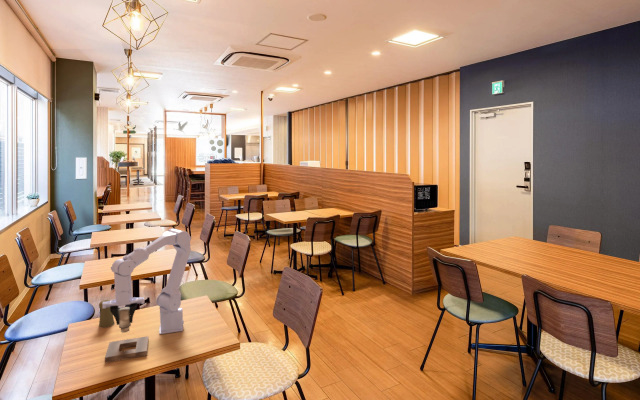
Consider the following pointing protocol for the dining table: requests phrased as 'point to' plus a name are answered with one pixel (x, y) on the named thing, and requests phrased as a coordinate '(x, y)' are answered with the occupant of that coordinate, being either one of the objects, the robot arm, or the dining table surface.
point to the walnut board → (116, 354)
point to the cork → (105, 316)
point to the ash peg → (124, 319)
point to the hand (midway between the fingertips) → (124, 322)
